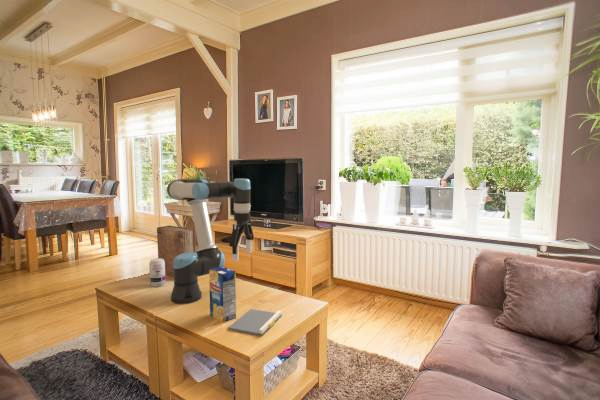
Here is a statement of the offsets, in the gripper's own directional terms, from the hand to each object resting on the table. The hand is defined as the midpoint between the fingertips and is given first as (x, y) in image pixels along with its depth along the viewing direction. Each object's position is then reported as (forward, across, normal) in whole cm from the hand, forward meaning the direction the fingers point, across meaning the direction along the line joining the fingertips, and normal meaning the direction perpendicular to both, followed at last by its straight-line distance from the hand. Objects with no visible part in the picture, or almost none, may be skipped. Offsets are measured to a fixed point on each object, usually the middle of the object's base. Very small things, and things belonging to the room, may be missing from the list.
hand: (242, 256), depth 157 cm
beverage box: (+27, -8, +6) cm, 29 cm away
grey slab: (+26, -9, -11) cm, 30 cm away
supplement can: (+28, +18, +63) cm, 72 cm away
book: (+28, +38, +65) cm, 81 cm away
